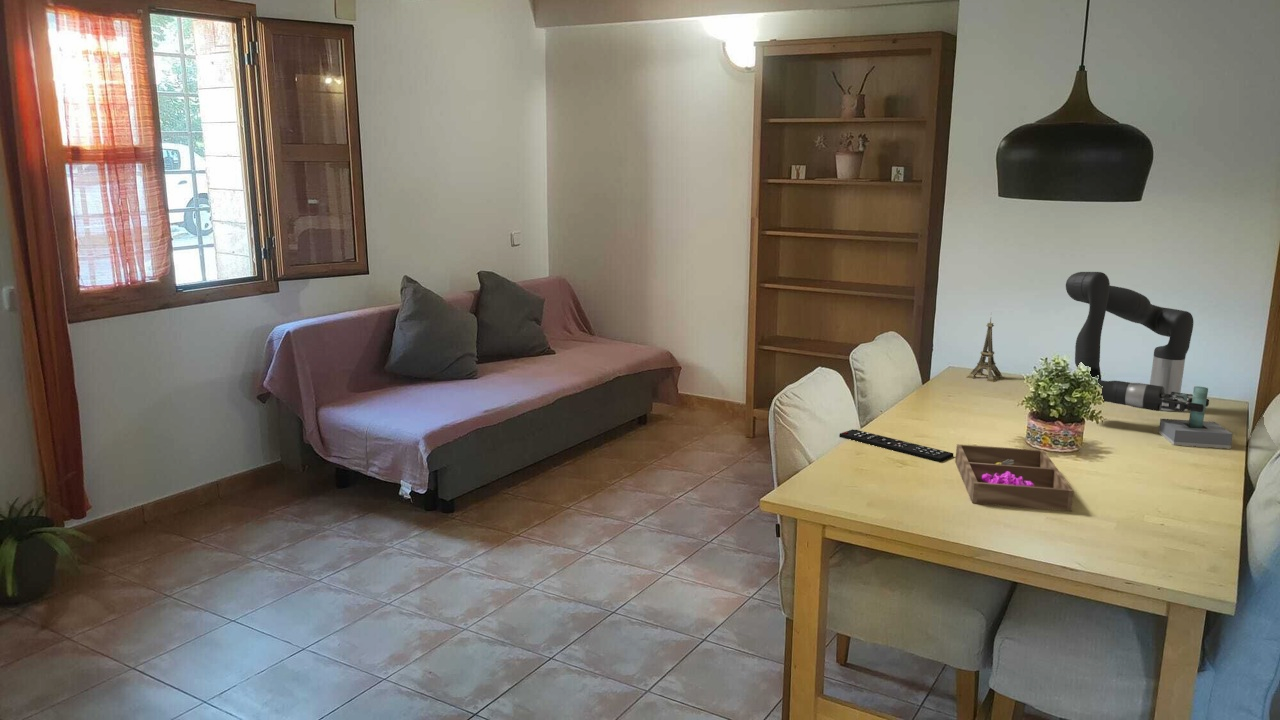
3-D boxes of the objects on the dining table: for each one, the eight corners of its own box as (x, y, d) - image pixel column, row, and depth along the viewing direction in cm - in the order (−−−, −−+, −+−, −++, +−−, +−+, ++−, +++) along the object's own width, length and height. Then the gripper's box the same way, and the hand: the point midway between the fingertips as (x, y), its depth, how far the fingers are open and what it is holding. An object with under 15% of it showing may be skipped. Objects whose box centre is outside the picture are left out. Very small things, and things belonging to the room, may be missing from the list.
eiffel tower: (966, 377, 354) (972, 312, 349) (976, 373, 362) (982, 309, 357) (994, 382, 347) (1000, 315, 342) (1004, 377, 355) (1010, 312, 350)
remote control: (852, 433, 279) (853, 427, 279) (953, 458, 257) (953, 451, 257) (838, 438, 274) (838, 432, 274) (939, 464, 252) (940, 457, 251)
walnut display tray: (955, 461, 252) (956, 444, 251) (1041, 468, 248) (1043, 450, 247) (972, 503, 222) (974, 483, 221) (1071, 511, 217) (1073, 490, 216)
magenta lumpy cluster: (979, 501, 223) (982, 475, 222) (980, 488, 232) (983, 463, 231) (1033, 509, 219) (1036, 482, 218) (1032, 496, 228) (1035, 470, 226)
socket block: (1158, 432, 284) (1160, 418, 283) (1212, 436, 281) (1214, 421, 280) (1173, 445, 271) (1175, 430, 270) (1230, 449, 268) (1232, 433, 268)
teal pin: (1184, 435, 278) (1192, 386, 275) (1198, 436, 277) (1205, 386, 274) (1189, 438, 275) (1196, 388, 272) (1202, 439, 274) (1210, 389, 271)
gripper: (1140, 388, 276) (1203, 397, 266) (1151, 380, 287) (1212, 388, 277) (1137, 412, 278) (1199, 423, 268) (1148, 404, 289) (1208, 413, 279)
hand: (1206, 405), depth 273 cm, fingers open, 8 cm apart
